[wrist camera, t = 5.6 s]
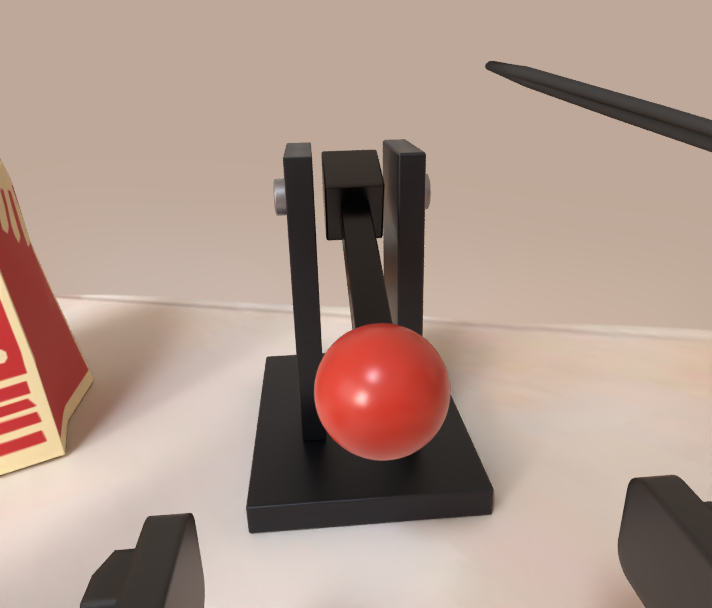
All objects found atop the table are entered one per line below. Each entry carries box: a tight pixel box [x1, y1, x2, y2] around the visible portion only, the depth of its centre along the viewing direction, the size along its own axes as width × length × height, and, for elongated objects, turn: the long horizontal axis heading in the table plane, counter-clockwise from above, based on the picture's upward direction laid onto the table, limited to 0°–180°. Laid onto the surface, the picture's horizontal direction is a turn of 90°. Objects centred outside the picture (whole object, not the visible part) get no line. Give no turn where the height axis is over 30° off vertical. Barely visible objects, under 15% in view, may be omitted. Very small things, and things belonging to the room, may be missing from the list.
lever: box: [314, 150, 450, 461], centre depth 19 cm, size 13×4×4 cm, turn 5°
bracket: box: [246, 139, 494, 533], centre depth 25 cm, size 12×9×13 cm
